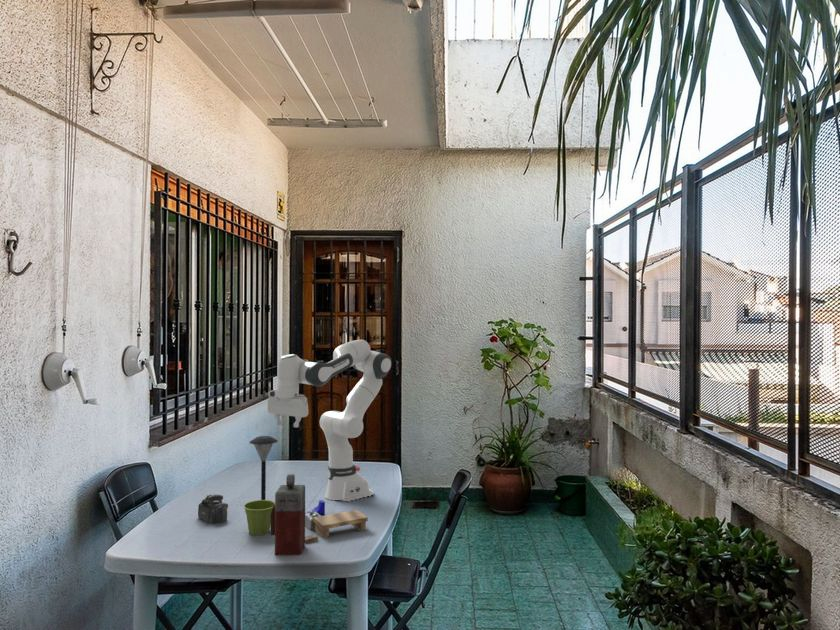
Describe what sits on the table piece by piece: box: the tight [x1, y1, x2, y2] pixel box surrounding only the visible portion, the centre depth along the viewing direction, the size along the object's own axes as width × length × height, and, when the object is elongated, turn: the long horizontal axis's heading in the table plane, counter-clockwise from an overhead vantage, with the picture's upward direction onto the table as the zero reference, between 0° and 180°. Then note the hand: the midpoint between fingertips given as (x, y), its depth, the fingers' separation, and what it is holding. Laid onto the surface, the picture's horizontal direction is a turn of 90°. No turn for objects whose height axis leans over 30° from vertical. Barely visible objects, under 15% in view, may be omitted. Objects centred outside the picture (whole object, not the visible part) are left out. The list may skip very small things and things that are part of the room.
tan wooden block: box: [305, 534, 319, 544], centre depth 210 cm, size 5×3×3 cm, turn 130°
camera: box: [197, 494, 229, 524], centre depth 236 cm, size 13×10×10 cm
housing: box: [305, 510, 321, 531], centre depth 227 cm, size 5×8×6 cm, turn 29°
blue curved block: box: [307, 499, 326, 516], centre depth 240 cm, size 12×4×6 cm, turn 117°
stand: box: [313, 509, 368, 539], centre depth 222 cm, size 18×10×6 cm, turn 121°
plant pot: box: [243, 499, 275, 536], centre depth 220 cm, size 12×12×11 cm
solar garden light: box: [248, 435, 279, 500], centre depth 252 cm, size 12×12×30 cm
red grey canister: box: [270, 473, 306, 556], centre depth 201 cm, size 9×11×28 cm
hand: (287, 425), depth 245 cm, fingers open, 8 cm apart
